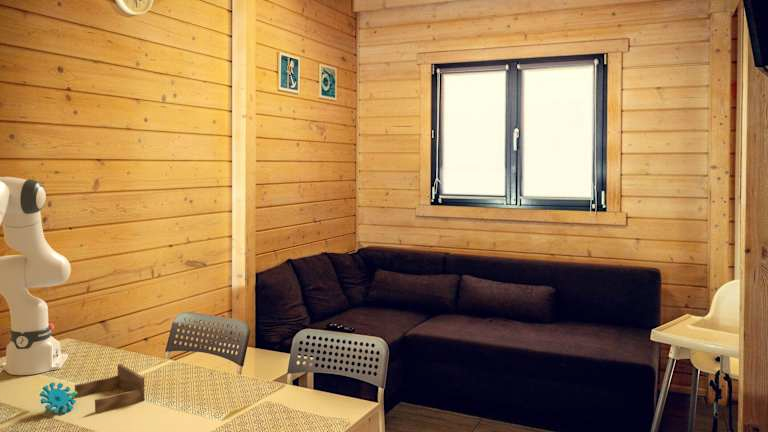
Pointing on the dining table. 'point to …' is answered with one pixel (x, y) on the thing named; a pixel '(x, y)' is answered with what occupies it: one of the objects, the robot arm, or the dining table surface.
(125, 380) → the bay
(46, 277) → the robot arm
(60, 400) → the teal round spiked piece
